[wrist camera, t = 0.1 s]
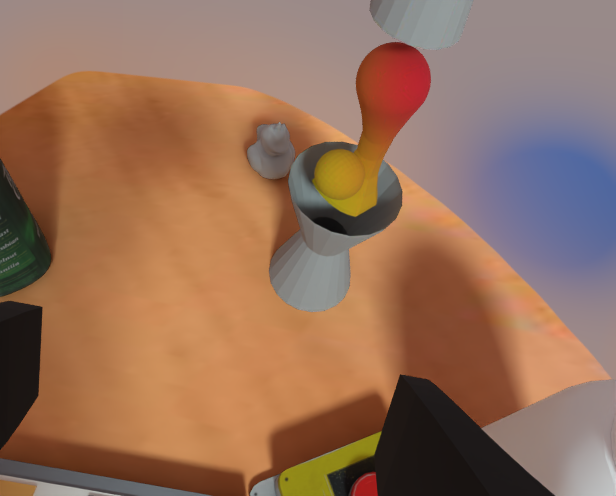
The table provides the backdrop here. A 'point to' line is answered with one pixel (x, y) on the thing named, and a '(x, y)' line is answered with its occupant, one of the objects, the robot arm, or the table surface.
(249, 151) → the rubber duck
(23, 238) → the coffee jar
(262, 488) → the emergency button
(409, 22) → the lava lamp
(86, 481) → the panel
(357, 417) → the table surface
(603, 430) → the white jar
